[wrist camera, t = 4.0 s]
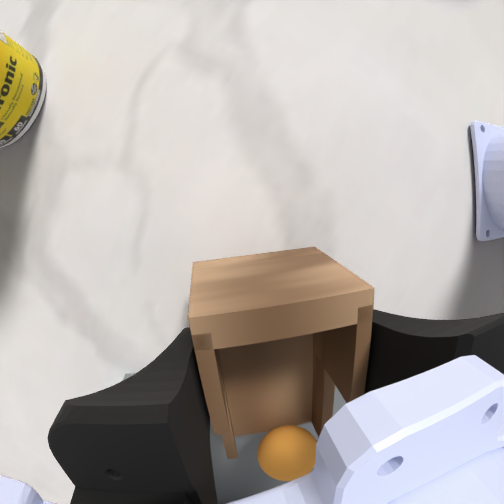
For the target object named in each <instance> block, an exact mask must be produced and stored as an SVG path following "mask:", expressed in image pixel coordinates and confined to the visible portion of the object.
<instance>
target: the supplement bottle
mask: <svg viewBox="0 0 504 504" xmlns="http://www.w3.org/2000/svg"><path fill="white" fill-rule="evenodd" d="M45 92H46V76H45V72H44V69H43V67H42V65H41V63H40V62H39V61H38V60H37V59H36V58H35V57H34V56H33V55H31V54H30V53H29V52H28V51H26V50H25V49H24V48H23V47H21V46H20V45H19V44H17V43H16V42H15V41H13V40H12V39H11V38H9V37H8V36H7V35H5V34H4V33H3V32H1V31H0V148H2V147H6V146H8V145H10V144H12V143H14V142H15V141H17V140H18V139H19V138H20V137H22V136H23V135H24V134H25V132H26V131H27V130H28V129H29V128H30V126H31V125H32V123H33V122H34V120H35V119H36V117H37V115H38V113H39V111H40V109H41V106H42V103H43V100H44V97H45Z"/></svg>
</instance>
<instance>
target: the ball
mask: <svg viewBox="0 0 504 504" xmlns="http://www.w3.org/2000/svg"><path fill="white" fill-rule="evenodd" d="M316 444H317V441H316V439H315V438H314V436H313V435H312V434H311V433H310V432H309V431H307V430H306V429H304V428H301V427H298V426H293V425H285V426H280V427H277V428H275V429H273V430H271V431H269V432H268V433H267V434H266V435H265V436H264V437H263V438H262V440H261V442H260V444H259V446H258V450H257V458H258V462H259V465H260V467H261V468H262V470H263V471H264V472H265V473H266V474H267V475H269V476H270V477H272V478H274V479H277V480H281V481H292V480H295V479H297V478H300V477H302V476H304V475H307V474H308V473H310V472H311V471H312V469H313V468H314V465H315V460H316Z"/></svg>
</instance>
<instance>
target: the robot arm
mask: <svg viewBox="0 0 504 504" xmlns="http://www.w3.org/2000/svg"><path fill="white" fill-rule="evenodd" d="M470 128H471V136H472V144H473V154H474V166H475V181H476V237H477V240H478V241H489V240H494V239H499V238H504V127H502V126H498V125H494V124H489V123H485V122H481V121H472V122H471V125H470ZM48 443H49V447H50V449H51V451H52V453H53V455H54V457H55V458H56V460H57V461H58V463H59V464H60V466H61V467H62V469H63V470H64V471H65V473H66V474H67V476H68V477H69V478H70V480H71V481H72V482H73V484H74V485H75V486H76V487H75V490H74V493H73V496H72V500H71V503H70V504H218V501H217V495H216V488H215V481H214V473H213V466H212V457H211V448H210V415H209V411H208V407H207V403H206V399H205V395H204V390H203V386H202V382H201V377H200V373H199V368H198V364H197V359H196V354H195V350H194V345H193V340H192V335H191V330H190V328H184V329H183V330H182V332H181V333H180V334H179V335H178V336H177V337H176V339H175V340H174V341H173V342H172V343H171V344H170V345H169V346H168V347H167V348H166V349H165V350H164V351H163V352H162V353H161V354H160V355H159V356H158V357H157V358H156V359H155V360H154V361H152V362H151V363H150V364H149V365H147V366H146V367H145V368H143V369H142V370H140V371H139V372H137V373H136V374H134V375H132V376H131V377H129V378H127V379H125V380H123V381H122V382H120V383H118V384H116V385H113V386H111V387H109V388H106V389H104V390H101V391H98V392H96V393H93V394H89V395H85V396H82V397H78V398H74V399H70V400H66V401H65V402H64V404H63V406H62V407H61V409H60V411H59V413H58V415H57V417H56V419H55V421H54V422H53V424H52V426H51V428H50V431H49V434H48ZM0 504H56V503H51V502H47V501H43V500H42V498H41V497H40V495H39V494H38V493H37V492H36V490H34V489H33V488H32V487H31V486H30V485H28V484H27V483H25V482H22V481H19V480H15V479H12V478H8V477H5V476H2V475H0ZM226 504H504V313H500V314H496V315H491V316H486V317H480V318H473V319H463V320H428V319H418V318H410V317H405V316H399V315H394V314H390V313H386V312H382V311H378V310H374V309H373V318H372V331H371V341H370V351H369V360H368V368H367V376H366V384H365V391H364V395H362V396H360V397H358V398H356V399H354V400H352V401H350V402H348V403H346V404H345V405H344V406H343V407H342V408H341V409H340V410H339V411H338V412H337V413H336V414H335V415H334V416H333V417H332V418H330V419H329V420H328V421H327V422H326V423H325V424H324V427H323V429H322V432H321V434H320V436H319V439H318V441H317V444H316V460H315V465H314V469H313V471H312V472H310V473H309V474H307V475H304V476H302V477H300V478H297V479H295V480H292V481H290V482H288V483H285V484H282V485H280V486H277V487H275V488H272V489H269V490H267V491H264V492H261V493H258V494H255V495H252V496H249V497H246V498H243V499H240V500H236V501H233V502H230V503H226Z"/></svg>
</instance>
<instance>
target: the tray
mask: <svg viewBox="0 0 504 504" xmlns="http://www.w3.org/2000/svg"><path fill="white" fill-rule="evenodd" d="M132 375H134V374H125V377H124V379H123V380H125V379H127V378H129V377H131V376H132ZM345 404H346V401H345V400H344V398H343V397H342V395H341V393H340V392H339V390H338V389H337V387H336V385H335V393H334V405H333V416H334V415H335V414H336V413H337V412H338V411H339V410H340V409H341V408H342V407H343V406H344V405H345ZM333 416H332V417H333ZM297 426H298V427H301V428H304V429H306V430H307V431H309V432H310V433H311V434H312V435H313V436H314V438H315V439H316V441H318V439H319V437H318V435H317V433H316V431H315V429H314V426H313V424H312V422H310V423H305V424H301V425H297ZM268 432H269V431H267V432H261V433H255V434H249V435H242V436H235V443H236V449H237V455H238V458H235V459H227V455H226V452H225V448H224V444H223V440H222V436H221V434H216V435H214V431H213V427H212V423H211V419H210V448H211V457H212V466H213V473H214V481H215V488H216V495H217V501H218V504H226V503H230V502H233V501H236V500H240V499H243V498H246V497H249V496H252V495H255V494H258V493H261V492H264V491H267V490H269V489H272V488H275V487H277V486H280V485H282V484H285V483H288V482H290V481H281V480H277V479H274V478H272V477H270V476H269V475H267V474H266V473H265V472H264V471H263V470H262V468H261V467H260V465H259V462H258V458H257V450H258V446H259V444H260V442H261V440H262V438H263V437H264V436H265V435H266V434H267V433H268ZM313 469H314V468H313ZM313 469H312V471H313ZM312 471H311V472H312ZM308 474H309V473H308Z"/></svg>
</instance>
